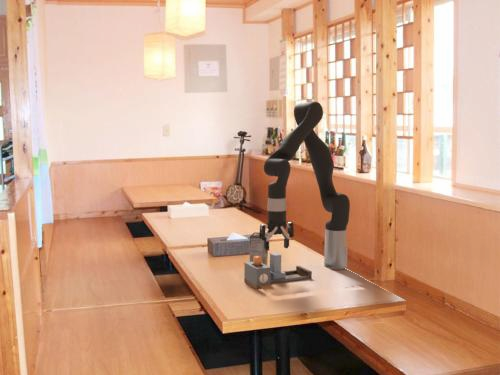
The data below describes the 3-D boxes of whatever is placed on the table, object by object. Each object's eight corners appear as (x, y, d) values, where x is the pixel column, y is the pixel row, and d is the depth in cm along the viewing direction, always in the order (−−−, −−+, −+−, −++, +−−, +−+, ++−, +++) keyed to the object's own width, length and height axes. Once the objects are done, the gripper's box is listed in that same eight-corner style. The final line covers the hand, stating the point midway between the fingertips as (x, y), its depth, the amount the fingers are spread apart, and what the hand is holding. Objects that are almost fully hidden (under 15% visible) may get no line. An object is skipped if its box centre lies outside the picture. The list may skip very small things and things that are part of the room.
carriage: (276, 275, 264) (276, 251, 263) (285, 280, 257) (286, 255, 255) (265, 276, 262) (265, 252, 260) (274, 281, 254) (274, 256, 253)
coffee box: (253, 268, 282) (253, 231, 280) (267, 268, 281) (268, 232, 279) (249, 273, 273) (249, 235, 271) (263, 274, 272) (264, 236, 270)
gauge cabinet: (257, 276, 262) (258, 261, 261) (270, 284, 252) (271, 267, 251) (244, 278, 259) (244, 262, 259) (256, 285, 249) (257, 269, 248)
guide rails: (295, 272, 269) (295, 270, 269) (308, 279, 260) (308, 276, 260) (258, 277, 262) (258, 274, 262) (270, 283, 252) (270, 280, 252)
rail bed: (298, 275, 270) (298, 265, 270) (312, 282, 260) (312, 271, 260) (244, 282, 260) (244, 271, 259) (256, 289, 250) (256, 277, 249)
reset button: (259, 263, 257) (259, 255, 257) (262, 264, 254) (263, 257, 254) (252, 263, 256) (252, 256, 255) (255, 265, 253) (255, 258, 252)
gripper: (287, 206, 262) (287, 245, 264) (256, 208, 256) (256, 249, 258) (297, 209, 255) (296, 249, 257) (265, 211, 249) (265, 252, 251)
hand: (276, 249), depth 257 cm, fingers open, 8 cm apart
